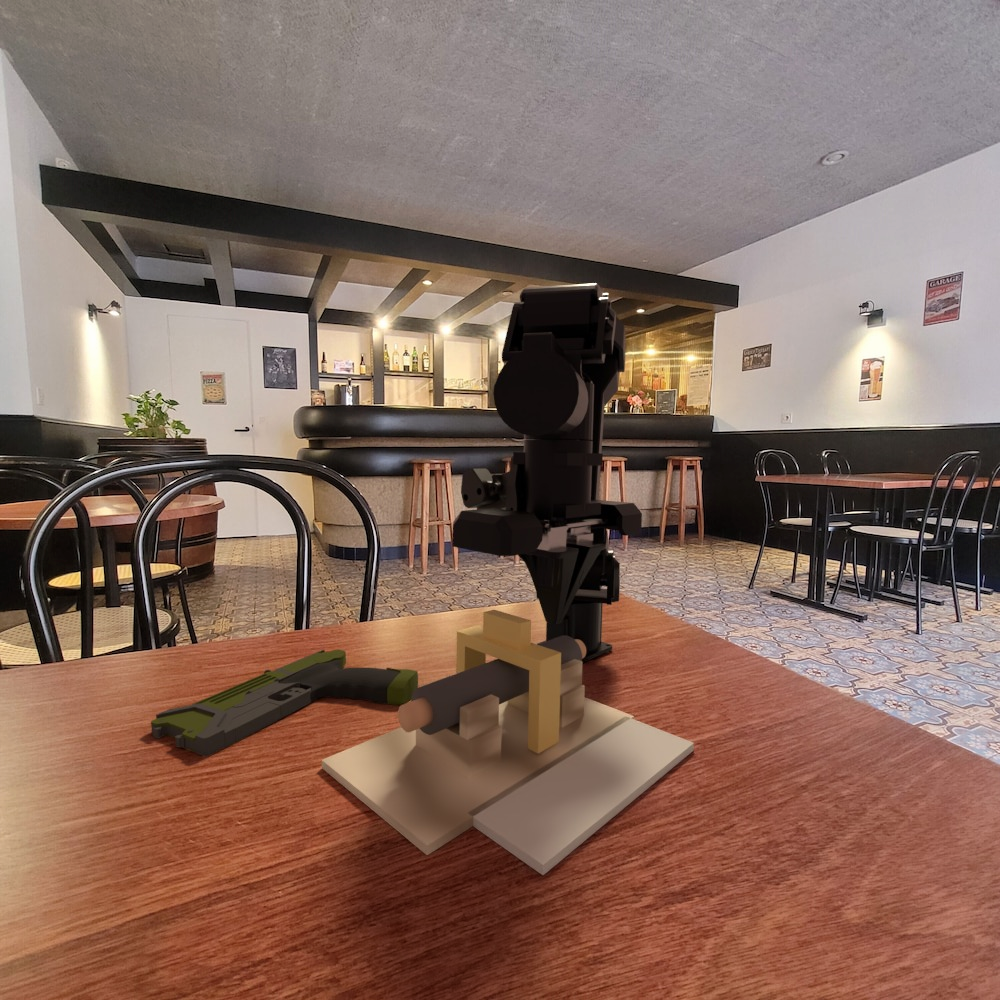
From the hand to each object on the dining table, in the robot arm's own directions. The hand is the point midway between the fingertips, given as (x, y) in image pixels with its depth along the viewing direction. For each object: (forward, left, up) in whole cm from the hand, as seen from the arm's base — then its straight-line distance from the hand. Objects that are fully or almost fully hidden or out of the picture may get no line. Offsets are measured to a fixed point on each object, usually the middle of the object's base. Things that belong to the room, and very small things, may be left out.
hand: (553, 623), depth 47 cm
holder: (+7, 0, -8) cm, 11 cm away
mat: (+6, +9, -8) cm, 13 cm away
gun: (+15, -16, -9) cm, 23 cm away
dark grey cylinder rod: (+6, 0, -3) cm, 7 cm away
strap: (+6, 0, -8) cm, 10 cm away
